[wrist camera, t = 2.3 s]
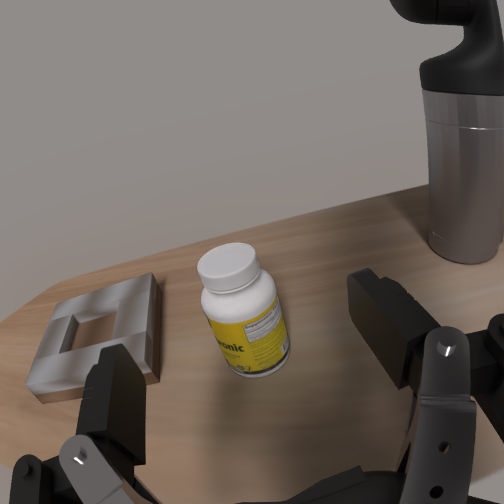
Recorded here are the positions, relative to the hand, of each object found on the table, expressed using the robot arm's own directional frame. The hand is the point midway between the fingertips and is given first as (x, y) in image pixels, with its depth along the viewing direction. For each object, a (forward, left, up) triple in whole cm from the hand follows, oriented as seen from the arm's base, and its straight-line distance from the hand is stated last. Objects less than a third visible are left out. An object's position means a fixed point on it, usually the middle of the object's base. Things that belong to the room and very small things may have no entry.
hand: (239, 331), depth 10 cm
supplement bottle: (0, -10, -13) cm, 17 cm away
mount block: (+16, -17, -13) cm, 27 cm away
